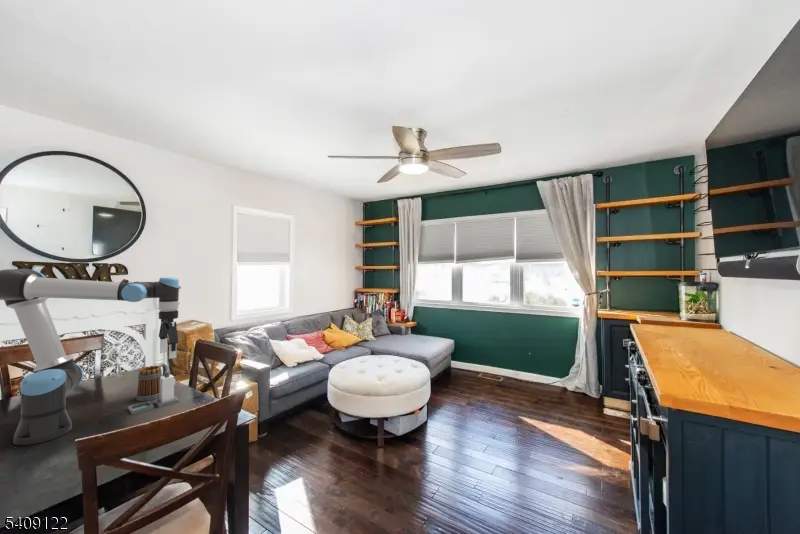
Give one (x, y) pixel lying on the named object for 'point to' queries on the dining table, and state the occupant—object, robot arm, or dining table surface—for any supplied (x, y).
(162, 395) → the plug
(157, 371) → the mug
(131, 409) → the panel
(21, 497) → the dining table surface
